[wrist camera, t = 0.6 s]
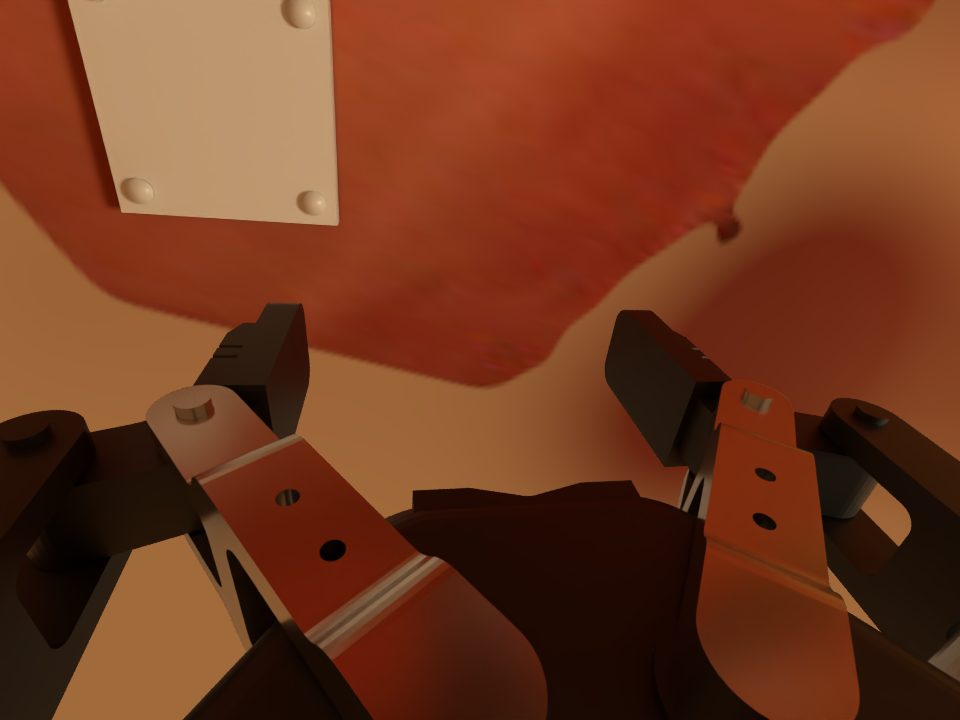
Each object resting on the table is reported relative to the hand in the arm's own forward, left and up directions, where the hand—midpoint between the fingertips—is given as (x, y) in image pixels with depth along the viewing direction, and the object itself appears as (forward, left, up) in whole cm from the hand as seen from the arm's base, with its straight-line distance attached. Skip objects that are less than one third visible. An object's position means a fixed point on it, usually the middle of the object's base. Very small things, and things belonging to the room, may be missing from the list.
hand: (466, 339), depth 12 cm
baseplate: (-3, -13, -27) cm, 30 cm away
